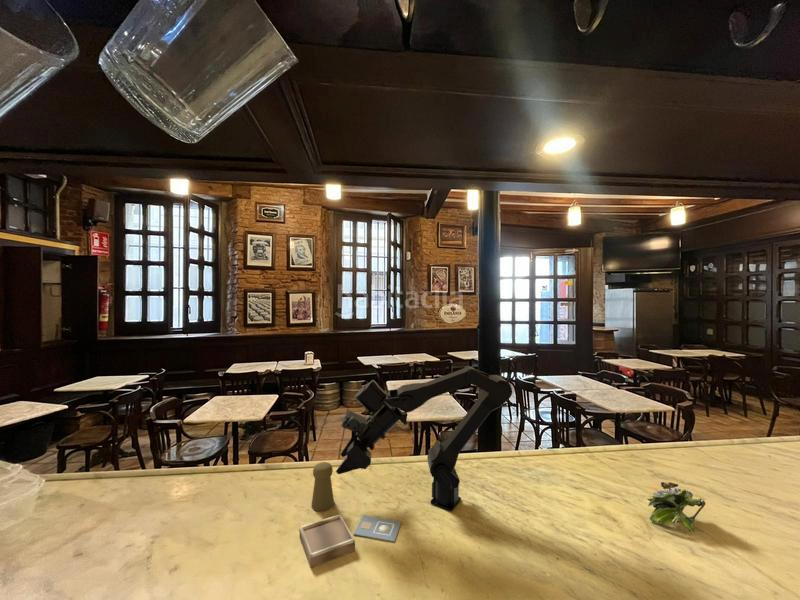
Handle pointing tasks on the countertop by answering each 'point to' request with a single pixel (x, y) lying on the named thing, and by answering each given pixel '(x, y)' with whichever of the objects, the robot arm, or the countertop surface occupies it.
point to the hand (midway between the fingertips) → (339, 463)
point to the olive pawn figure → (322, 487)
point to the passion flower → (673, 506)
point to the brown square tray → (326, 540)
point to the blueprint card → (378, 528)
